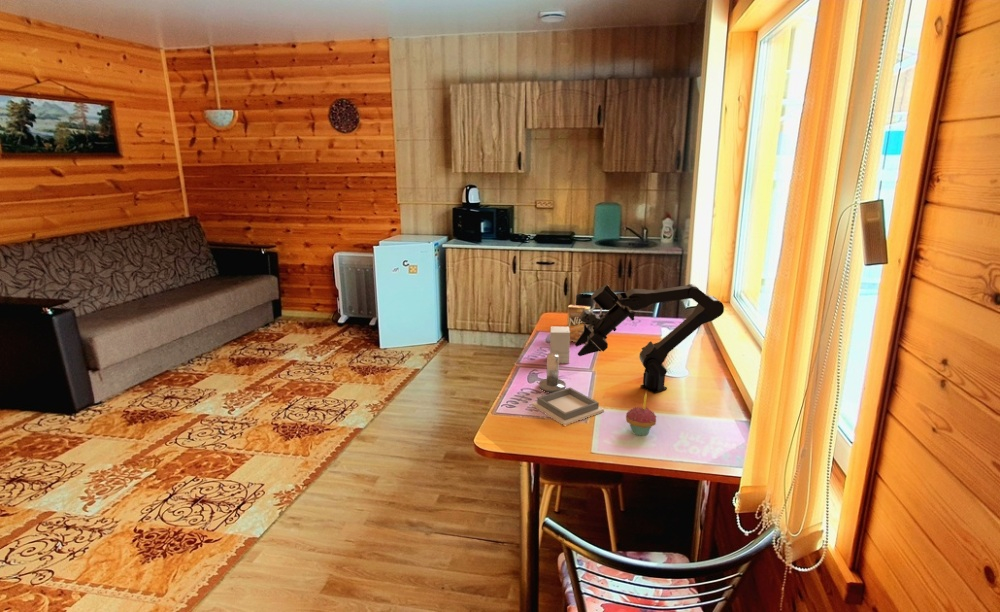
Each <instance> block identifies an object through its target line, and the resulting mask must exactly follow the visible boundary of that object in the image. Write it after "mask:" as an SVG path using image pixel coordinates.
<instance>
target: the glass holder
mask: <svg viewBox="0 0 1000 612" xmlns="http://www.w3.org/2000/svg"><path fill="white" fill-rule="evenodd" d="M591 296H592V294H589V293H579V294H576V295H575V299H576V300H575V305H580V306H590V312H592V313H594V310H595V307H596V304H597V303H596V302H595V301H594V300H593V299H592V298H591ZM599 308H600V307H599ZM602 311H603V310H602V309H601V308H600V310H599V314H598V316H599V315H600V314H602Z"/></svg>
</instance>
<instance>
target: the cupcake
mask: <svg viewBox="0 0 1000 612" xmlns="http://www.w3.org/2000/svg"><path fill="white" fill-rule="evenodd" d="M643 396H644V397H643V405H642V407H641V406H640V407H638V406H637V407H633V408H631V409H630V410H628V411H627V412H626V416H625V419H626V422H627V423H628V424H629V426H630V430H631V432H632V434H634V435H636V434H637V435H636V436H640V435H644V436H647V435H648V434H649V432H650V430H651V428H652V427H653V426H655V425H657V416H656V414H655V412H654V411H653V410H650V409H649V408H647V407H646V403H647V396H648V394H647V391H645V394H644V395H643Z"/></svg>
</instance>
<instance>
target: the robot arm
mask: <svg viewBox="0 0 1000 612" xmlns="http://www.w3.org/2000/svg"><path fill="white" fill-rule="evenodd" d="M591 295H592V296H591V298H592V299H593V302H594V303H595V302H596V304H597V305H598V307H599V308H601V309H602V311H606V312H605V313H601V314H600V313H599V314H600V315H599V314H596V313H594V312H593V313H592V312H590V311H588V310H586V309H584V310H583V312H582V314H581V316H580V318H581V319H580V320H581V321H582V322H584V323H585V324H586V325H585V324H584V330H583V332H582V334H581V335H580V337H579V338H578V340H577V341H576V342H574V346H576V347H579V346H582V345H583V344H584V346H583V347H581V349H580V350H579V351H578V353H577V356H579V357H581V356H582V357H583V356H587V355H588V354H593V353H597V352H604V351H606V350H607V349H608V348H609V347H608V346H609V344H608V341H607V339H608V335H609V334H610V333H611V332H616V331H617V327H618V326H620V324H622V323H623V322H624V321H625V320H626V319H628V318H629V319H630V320H631V321H635V313H636V312H635V311H640V310H643V309H646V308H648V307H651V306H652V305H655V304H661V303H668V302H676V301H682V300H688V299H692V300H693V301H695V303H697V304H696V305H695V308H694V309H693V312H692V313H691V314H690V315H689V316H688V317H687V318H686V319H684V320H683V321H682V322H681V323H680V324H679V325H677V326H676V327H675V328H674V329H672V330H671V331H670V332H669V333H668V334H666V335H665V336H664V337H663V338H662V339H661V340H660V341H659V342H658V341H657V342H655V343H653V342H652V340H650V341H649V342H648V343H647V344H646V345H645V346H643V347H641V351H640V353H639V357H638V358H639V360H640V362H641V364H642V365H643V368H644V372H643V377H642V384H640V389H644V390H646V391H648V392H650V393H652V394H657V393H659V392H662V391H665V390H666V391H667V389H668V387H667V386H665V381H666V380H665V379H666V375H667V372H668V371H667V368H666V366H664V364H663V363H664V362H665V360H666V359H667V357H668V355H669V354H670V352H672V351H673V350H674V349H675V348H676V347H677V346H678V345H680V344H681V343H682V342H683V341H685V340H686V339H687V338H688V337H689V336H690V335H691V334H693V333H694V332H695V331H696V330H697V329H699V328H700V327H701V326H702V325H704V324H708V323H709V322H713V321H714V320H716V319H718V318H719V317H720V316H722V315H723V314H724V311H725V306H724V304H723V303H722V302H721V301H720V300H719V299H718V298H717V297H715V296H713V295H707V294H706V293H705V292H703V291H702V290H700V289H699V287H697V286H696V285H695V284H693V283H689V284H686V285H680V286H679V285H678V286H673V287H666V288H657V289H644V288H630V289H628V290H627V291H623V292H614V291H613V289H612V288H611V287H610V285H609V284H608V283H606V284H604V285H603V286H601V287H599V288H597V289H596V290H595V291H594V292H593V293H592V294H591ZM586 342H587V343H586ZM585 343H586V344H585Z"/></svg>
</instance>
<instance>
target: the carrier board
mask: <svg viewBox="0 0 1000 612" xmlns="http://www.w3.org/2000/svg"><path fill="white" fill-rule="evenodd" d="M599 404H600V403H599V401H596V400H595V399H592V398H591V397H589V396H587V395H585V394H583V393H581V392H579V391H578V390H576V389H574V388H572V387H567V388H566V389H563V390H560V391H557V392H554V393H547V394H545V395H541V396H538V397H537V399H536V401H534V402H532V403H531V406H532V405H533V406H534V407H536V408H537V409H536V408H535V409H536V410H538V409H539V410H541V411H542V412H544V413H546V414H547V415H548V416H547V415H546V414H545V415H546V416H547V417H549V416H550V417H552V418H553V419H552V418H551V419H552V420H554V421H555V420H556V421H555V422H557V421H558V422H559V423H558V422H557V423H558V424H560V423H561V424H560V425H562V424H563V425H564V426H563V425H562V426H563V427H566V426H568V425H567V424H569V425H571V424H570V423H572V424H574V423H573V422H575V421H577V422H579V421H578V420H580V421H582V419H583V420H585V418H586V419H588V418H591V417H593V415H594V416H596V414H597V415H599V414H602V413H604V412H605V409H604V408H603V407H602V406H600V405H599ZM533 406H532V407H533ZM534 407H533V408H534ZM539 410H538V411H539ZM541 411H540V412H541ZM601 412H602V413H601ZM544 413H543V414H544ZM590 416H591V417H590ZM550 417H549V418H550ZM587 417H588V418H587ZM575 423H576V422H575ZM565 425H566V426H565Z"/></svg>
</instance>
